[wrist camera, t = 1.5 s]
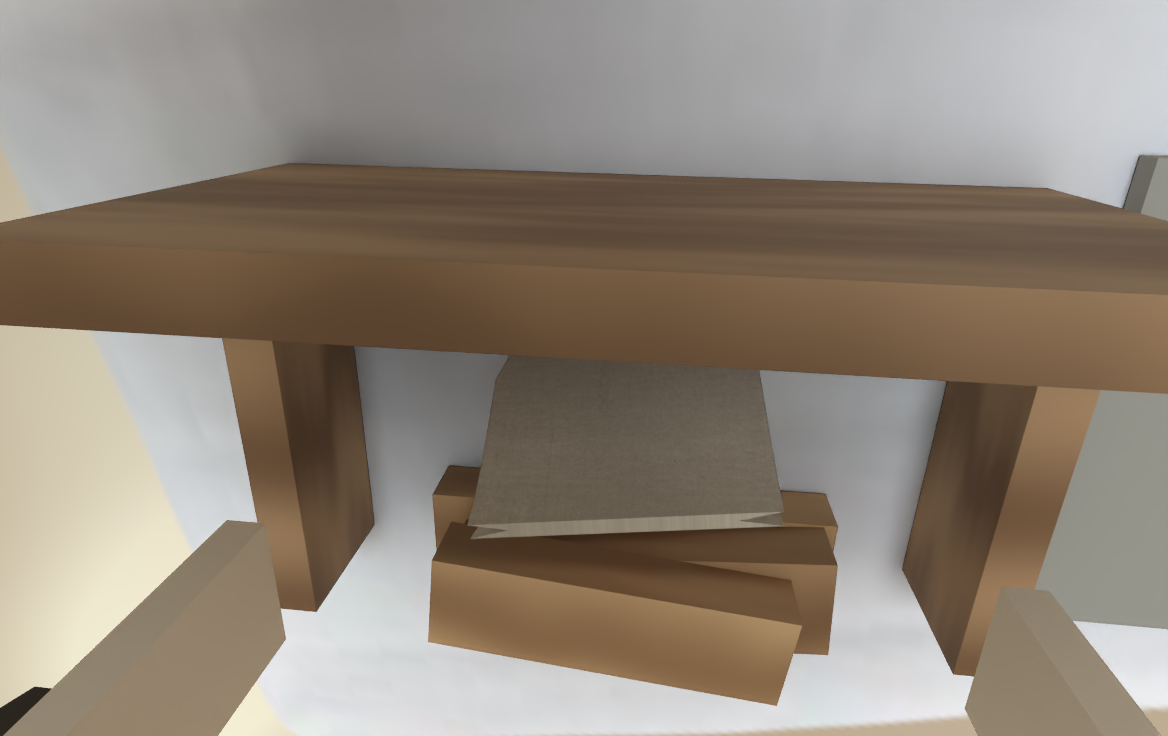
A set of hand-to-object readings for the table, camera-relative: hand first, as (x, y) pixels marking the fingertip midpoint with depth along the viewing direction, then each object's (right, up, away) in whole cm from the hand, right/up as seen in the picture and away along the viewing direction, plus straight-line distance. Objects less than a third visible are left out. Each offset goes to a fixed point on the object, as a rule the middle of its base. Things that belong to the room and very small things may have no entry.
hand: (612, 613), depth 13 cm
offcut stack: (+1, -1, +14) cm, 14 cm away
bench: (+1, +4, +12) cm, 12 cm away
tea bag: (+1, +5, +11) cm, 13 cm away
